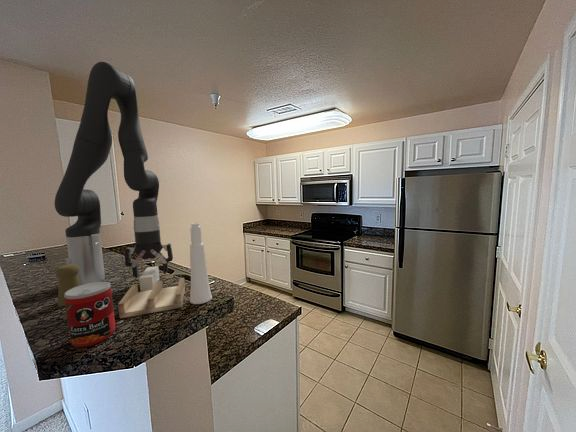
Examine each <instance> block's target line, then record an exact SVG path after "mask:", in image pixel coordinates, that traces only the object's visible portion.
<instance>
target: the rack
mask: <svg viewBox="0 0 576 432" xmlns="http://www.w3.org/2000/svg"><path fill="white" fill-rule="evenodd" d="M185 285H186V284H185V277H180V278H179V281H178V285H175V286H169V287H168V286H167V287H164V286H163V280H159V281H156V283H155V285H154V287H153V289H152V290H148V291H141V290H140V291H139V289H138V288H139V287H138V283H136V284H135V283H134V284H132V285H131V286H130V287H129V289H128V290H127V291H126V293H125V294H124V296H123V297H122V298H121V300H120V301H119V302H118V304H117V307H118V308H117V309H118V314H119V317H118V318H119V319H125V318H130V317H136V316H141V315H147V314H152V313H158V312H163V311H169V310H174V309H175V310H176V309H179V308H180V309H181V308H183V304H184V297H185V291H186V286H185Z"/></svg>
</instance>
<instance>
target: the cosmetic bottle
mask: <svg viewBox="0 0 576 432" xmlns="http://www.w3.org/2000/svg"><path fill="white" fill-rule="evenodd" d="M189 229H190V230H189V231H190V241H191V244H190V245H189V259H190V261H189V262H190V296H189V303H190V304H193V305H201V304H205V303H208V302H210V301H211V300H212V299H213V296H212V291H211V286H210V280H209V275H208V267H207V259H206V251H205V245H204V243H203V239H202V238H203V237H202V226H201V224H200V222H194V223H190V228H189Z"/></svg>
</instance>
